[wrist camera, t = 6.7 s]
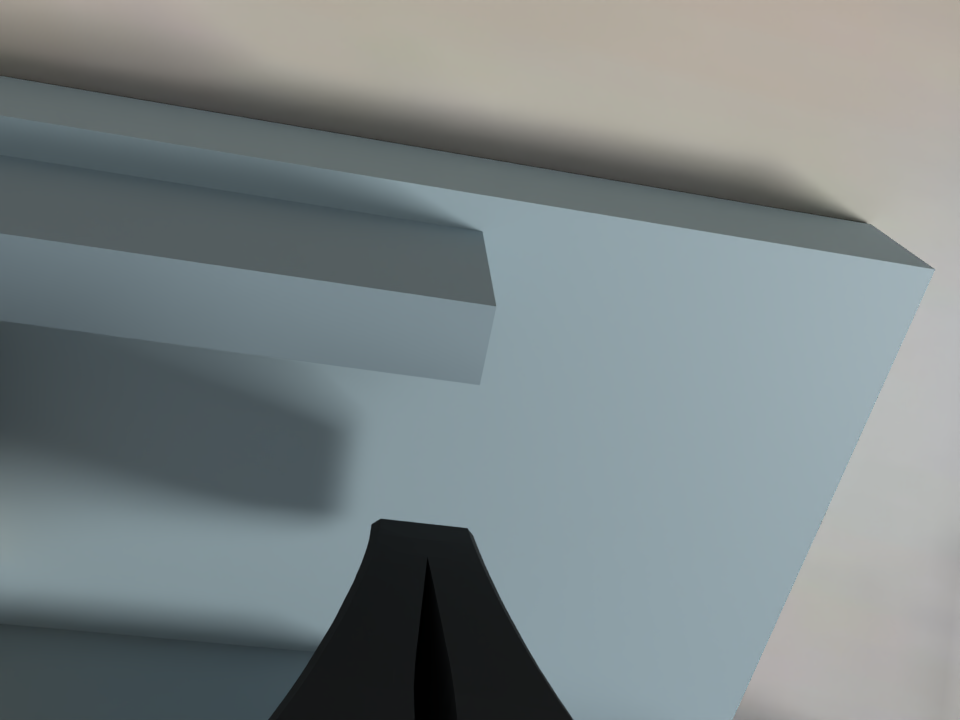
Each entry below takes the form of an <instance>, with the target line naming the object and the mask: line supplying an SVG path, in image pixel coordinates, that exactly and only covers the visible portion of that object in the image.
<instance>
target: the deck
mask: <svg viewBox="0 0 960 720" xmlns="http://www.w3.org/2000/svg"><path fill="white" fill-rule="evenodd" d="M934 271H935V269H934V268H932V267H931V266H929V265H928V264H927V263H925V262H924V261H922V260H921V259H919V258H918V257H917V256H915V255H914V254H912V253H911V252H910V251H908V250H907V249H905V248H904V247H902V246H901V245H900V244H898V243H897V242H895V241H894V240H892V239H891V238H890V237H888V236H887V235H885V234H884V233H883V232H881V231H880V230H878V229H877V228H875V227H874V226H873V225H871V224H866V223H860V222H854V221H848V220H842V219H836V218H830V217H825V216H819V215H813V214H807V213H801V212H795V211H789V210H784V209H778V208H772V207H766V206H760V205H754V204H748V203H743V202H737V201H731V200H725V199H719V198H713V197H707V196H702V195H696V194H690V193H684V192H678V191H672V190H666V189H661V188H655V187H649V186H643V185H637V184H631V183H625V182H620V181H614V180H608V179H602V178H596V177H590V176H584V175H579V174H573V173H567V172H561V171H555V170H549V169H543V168H538V167H532V166H526V165H520V164H514V163H508V162H502V161H497V160H491V159H485V158H479V157H473V156H467V155H461V154H456V153H450V152H444V151H438V150H432V149H426V148H420V147H415V146H409V145H403V144H397V143H391V142H385V141H379V140H374V139H368V138H362V137H356V136H350V135H344V134H338V133H333V132H327V131H321V130H315V129H309V128H303V127H297V126H292V125H286V124H280V123H274V122H268V121H262V120H256V119H251V118H245V117H239V116H233V115H227V114H221V113H215V112H210V111H204V110H198V109H192V108H186V107H180V106H174V105H169V104H163V103H157V102H151V101H145V100H139V99H133V98H128V97H122V96H116V95H110V94H104V93H98V92H92V91H87V90H81V89H75V88H69V87H63V86H57V85H51V84H45V83H40V82H34V81H28V80H22V79H16V78H10V77H4V76H0V720H268V719H269V718H270V717H271V715H272V714H273V712H274V711H275V710H276V708H277V707H278V706H279V704H280V703H281V702H282V700H283V699H284V698H285V696H286V695H287V693H288V692H289V691H290V689H291V688H292V686H293V685H294V683H295V682H296V680H297V679H298V677H299V676H300V675H301V673H302V672H303V670H304V669H305V667H306V665H307V664H308V662H309V661H310V659H311V657H312V656H313V654H314V652H315V651H316V649H317V647H318V646H319V644H320V643H321V641H322V639H323V638H324V636H325V634H326V633H327V631H328V629H329V628H330V626H331V624H332V623H333V621H334V619H335V617H336V615H337V613H338V611H339V609H340V607H341V605H342V603H343V601H344V599H345V597H346V595H347V593H348V592H349V590H350V588H351V586H352V584H353V581H354V579H355V577H356V574H357V572H358V570H359V567H360V565H361V563H362V560H363V557H364V554H365V551H366V548H367V545H368V541H369V537H370V530H371V524H373V523H374V522H376V521H378V520H379V519H390V520H399V521H408V522H417V523H426V524H435V525H444V526H453V527H462V528H468V530H469V531H470V532H471V533H472V535H473V536H474V539H475V541H476V544H477V547H478V549H479V552H480V554H481V556H482V559H483V561H484V563H485V566H486V568H487V570H488V572H489V575H490V577H491V579H492V581H493V583H494V585H495V587H496V589H497V591H498V594H499V596H500V598H501V600H502V602H503V604H504V606H505V608H506V609H507V611H508V613H509V615H510V617H511V619H512V621H513V622H514V624H515V626H516V628H517V630H518V632H519V633H520V635H521V637H522V639H523V641H524V642H525V644H526V646H527V648H528V650H529V651H530V653H531V655H532V656H533V658H534V660H535V661H536V663H537V665H538V666H539V668H540V670H541V671H542V673H543V674H544V676H545V677H546V679H547V681H548V682H549V684H550V685H551V687H552V688H553V690H554V692H555V693H556V695H557V696H558V698H559V699H560V701H561V702H562V704H563V705H564V706H565V708H566V709H567V711H568V712H569V714H570V715H571V717H572V718H573V719H574V720H733V717H734V715H735V713H736V711H737V709H738V706H739V704H740V702H741V700H742V697H743V695H744V693H745V691H746V689H747V686H748V684H749V682H750V680H751V677H752V675H753V673H754V671H755V669H756V666H757V664H758V662H759V660H760V657H761V655H762V653H763V651H764V649H765V646H766V644H767V642H768V640H769V637H770V635H771V633H772V631H773V629H774V626H775V624H776V622H777V620H778V617H779V615H780V613H781V611H782V609H783V606H784V604H785V602H786V600H787V597H788V595H789V593H790V591H791V589H792V586H793V584H794V582H795V580H796V577H797V575H798V573H799V571H800V569H801V566H802V564H803V562H804V560H805V557H806V555H807V553H808V551H809V549H810V546H811V544H812V542H813V540H814V537H815V535H816V533H817V531H818V529H819V526H820V524H821V522H822V520H823V517H824V515H825V513H826V511H827V509H828V506H829V504H830V502H831V500H832V497H833V495H834V493H835V491H836V489H837V486H838V484H839V482H840V480H841V477H842V475H843V473H844V471H845V469H846V466H847V464H848V462H849V460H850V457H851V455H852V453H853V451H854V449H855V446H856V444H857V442H858V440H859V437H860V435H861V433H862V431H863V429H864V426H865V424H866V422H867V420H868V418H869V415H870V413H871V411H872V409H873V406H874V404H875V402H876V400H877V398H878V395H879V393H880V391H881V389H882V386H883V384H884V382H885V380H886V378H887V375H888V373H889V371H890V369H891V366H892V364H893V362H894V360H895V358H896V355H897V353H898V351H899V349H900V346H901V344H902V342H903V340H904V338H905V335H906V333H907V331H908V329H909V326H910V324H911V322H912V320H913V318H914V315H915V313H916V311H917V309H918V306H919V304H920V302H921V300H922V298H923V295H924V293H925V291H926V289H927V286H928V284H929V282H930V280H931V278H932V275H933V273H934Z"/></svg>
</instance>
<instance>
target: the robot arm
mask: <svg viewBox="0 0 960 720" xmlns="http://www.w3.org/2000/svg"><path fill="white" fill-rule="evenodd" d="M268 720H574V719H573V718H572V717H571V715H570V714H569V712H568V711H567V709H566V708H565V706H564V705H563V704H562V702H561V701H560V699H559V698H558V696H557V695H556V693H555V692H554V690H553V688H552V687H551V685H550V684H549V682H548V681H547V679H546V677H545V676H544V674H543V673H542V671H541V670H540V668H539V666H538V665H537V663H536V661H535V660H534V658H533V656H532V655H531V653H530V651H529V650H528V648H527V646H526V644H525V642H524V641H523V639H522V637H521V635H520V633H519V632H518V630H517V628H516V626H515V624H514V622H513V621H512V619H511V617H510V615H509V613H508V611H507V609H506V608H505V606H504V604H503V602H502V600H501V598H500V596H499V594H498V591H497V589H496V587H495V585H494V583H493V581H492V579H491V577H490V575H489V572H488V570H487V568H486V566H485V563H484V561H483V559H482V556H481V554H480V552H479V549H478V547H477V544H476V541H475V539H474V536H473V535H472V533H471V532H470V531H469V530H468V528H462V527H453V526H444V525H435V524H426V523H417V522H408V521H399V520H390V519H379V520H378V521H376V522H374V523H373V524H371V530H370V537H369V541H368V545H367V548H366V551H365V554H364V557H363V560H362V563H361V565H360V567H359V570H358V572H357V574H356V577H355V579H354V581H353V584H352V586H351V588H350V590H349V592H348V593H347V595H346V597H345V599H344V601H343V603H342V605H341V607H340V609H339V611H338V613H337V615H336V617H335V619H334V621H333V623H332V624H331V626H330V628H329V629H328V631H327V633H326V634H325V636H324V638H323V639H322V641H321V643H320V644H319V646H318V647H317V649H316V651H315V652H314V654H313V656H312V657H311V659H310V661H309V662H308V664H307V665H306V667H305V669H304V670H303V672H302V673H301V675H300V676H299V677H298V679H297V680H296V682H295V683H294V685H293V686H292V688H291V689H290V691H289V692H288V693H287V695H286V696H285V698H284V699H283V700H282V702H281V703H280V704H279V706H278V707H277V708H276V710H275V711H274V712H273V714H272V715H271V717H270V718H269V719H268Z"/></svg>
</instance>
